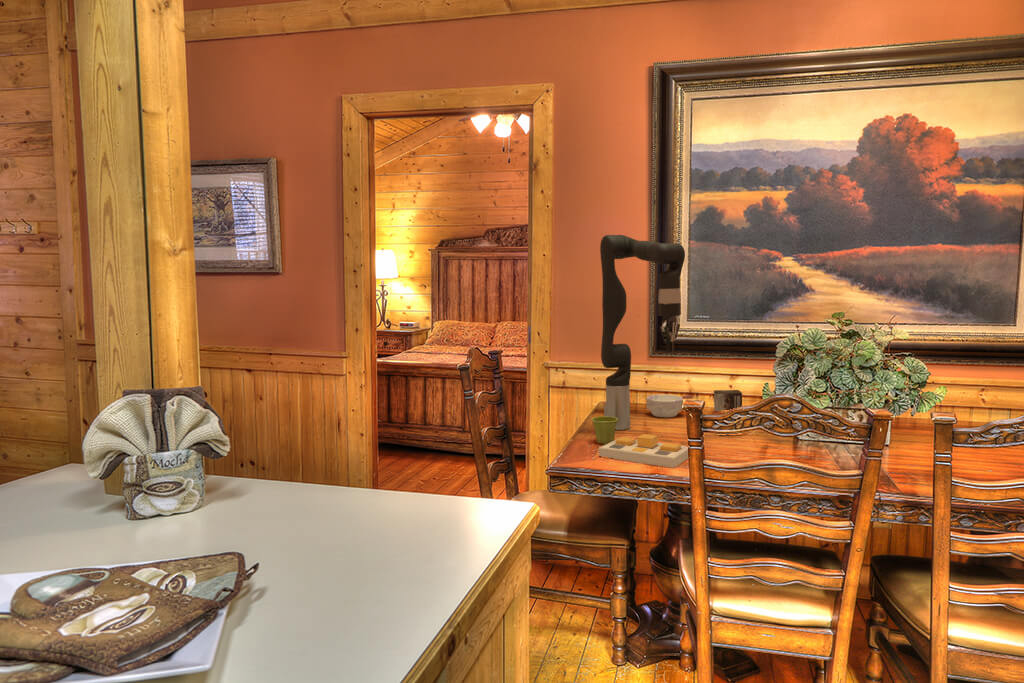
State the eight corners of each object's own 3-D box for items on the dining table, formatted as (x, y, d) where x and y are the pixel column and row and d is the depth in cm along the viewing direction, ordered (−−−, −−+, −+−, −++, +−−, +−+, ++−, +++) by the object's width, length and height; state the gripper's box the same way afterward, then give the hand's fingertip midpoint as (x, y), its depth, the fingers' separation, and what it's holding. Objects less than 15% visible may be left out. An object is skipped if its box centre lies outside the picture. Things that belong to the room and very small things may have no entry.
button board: (598, 456, 218) (598, 446, 217) (620, 446, 231) (620, 436, 230) (673, 467, 203) (673, 457, 202) (692, 455, 216) (692, 445, 215)
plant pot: (593, 446, 232) (593, 422, 231) (590, 439, 241) (590, 416, 240) (620, 445, 232) (619, 421, 231) (616, 439, 241) (615, 415, 240)
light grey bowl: (686, 419, 271) (686, 400, 270) (648, 419, 272) (648, 400, 271) (679, 411, 286) (679, 393, 285) (644, 412, 287) (644, 394, 286)
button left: (615, 448, 222) (615, 440, 222) (622, 445, 226) (622, 437, 226) (629, 450, 219) (629, 441, 219) (635, 447, 223) (635, 438, 223)
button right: (660, 455, 213) (660, 445, 213) (666, 451, 217) (666, 442, 217) (675, 457, 210) (675, 447, 210) (680, 453, 214) (680, 444, 214)
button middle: (637, 445, 217) (637, 437, 217) (643, 442, 222) (643, 433, 221) (651, 447, 215) (651, 438, 214) (657, 444, 219) (657, 435, 218)
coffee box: (738, 431, 246) (738, 389, 245) (742, 436, 240) (743, 392, 238) (713, 432, 247) (713, 389, 246) (717, 436, 241) (717, 392, 239)
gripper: (666, 301, 232) (667, 349, 234) (651, 302, 221) (652, 353, 223) (687, 301, 228) (687, 350, 229) (672, 302, 217) (673, 354, 219)
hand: (669, 352), depth 226 cm, fingers closed
